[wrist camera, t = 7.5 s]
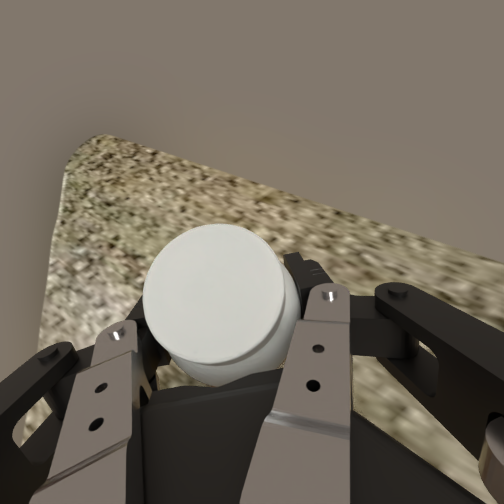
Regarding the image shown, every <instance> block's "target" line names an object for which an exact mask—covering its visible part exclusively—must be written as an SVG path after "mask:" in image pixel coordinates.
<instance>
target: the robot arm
mask: <svg viewBox="0 0 504 504" xmlns="http://www.w3.org/2000/svg"><path fill="white" fill-rule="evenodd" d="M283 257H284V265H285V268H286V269H287V270H288V272H289V273H290V275H291V277H292V278H293V280H294V282H295V285H296V287H297V291H298V294H299V299H300V304H301V319H298V320H297V322H296V325H295V329H294V332H293V336H292V340H291V343H290V347H289V350H288V354H287V358H286V361H285V365H284V368H280V369H275V370H269V371H263V372H258V373H252V374H249V375H247V376H244V377H242V378H239V379H237V380H235V381H232V382H230V383H227V384H225V385H222V386H219V387H199V386H180V387H174V388H169V389H163V390H160V383H159V377H158V375H157V372H156V370H157V367H158V366H164V365H169V363H170V360H171V356H170V354H169V353H168V351H167V350H166V349H165V348H164V347H163V346H162V345H161V344H160V343H159V342H158V341H157V340H156V339H155V337H154V336H153V334H152V333H151V331H150V329H149V327H148V325H147V322H146V319H145V315H144V309H143V295H142V296H141V298H140V299H139V301H138V303H137V304H136V305H135V306H134V308H133V309H132V311H131V312H130V314H129V315H128V316H127V318H126V319H125V320H124V321H120V322H117V323H115V324H113V325H111V326H109V327H107V328H106V329H104V330H103V331H102V332H101V333H100V334H99V335H98V336H97V338H96V342H95V345H92V346H89V347H87V348H84V349H81V350H78V351H76V350H75V348H74V347H73V345H72V343H71V342H60V343H56V344H54V345H51V346H49V347H47V348H45V349H43V350H41V351H40V352H38V353H37V354H35V355H34V356H33V357H32V358H30V359H29V360H28V361H27V362H25V363H24V364H23V365H22V366H21V367H19V368H18V369H17V370H15V371H14V372H13V373H12V374H10V375H9V376H8V377H7V378H5V379H4V380H3V381H2V382H1V383H0V504H486V503H484V502H483V501H482V500H480V499H479V498H477V497H476V496H475V495H473V494H472V493H470V492H469V491H467V490H466V489H465V488H463V487H462V486H460V485H459V484H458V483H456V482H455V481H453V480H452V479H450V478H449V477H448V476H446V475H445V474H443V473H442V472H441V471H439V470H438V469H436V468H435V467H433V466H432V465H431V464H429V463H428V462H426V461H425V460H423V459H422V458H421V457H419V456H418V455H416V454H415V453H414V452H412V451H411V450H409V449H408V448H406V447H405V446H404V445H402V444H401V443H399V442H398V441H397V440H395V439H394V438H392V437H391V436H390V435H388V434H387V433H385V432H384V431H382V430H381V429H380V428H378V427H377V426H375V425H374V424H373V423H371V422H370V421H368V420H367V419H365V418H364V417H363V416H361V415H360V414H358V413H357V412H356V411H354V397H353V355H360V356H373V357H376V358H377V360H378V361H379V362H380V363H381V364H382V365H383V366H384V367H385V368H386V369H387V370H388V371H389V372H390V373H391V374H392V375H393V376H394V377H395V378H396V379H397V380H398V381H399V382H400V383H401V384H402V385H403V386H404V387H405V388H406V389H407V390H408V391H409V392H410V393H411V394H412V395H413V396H414V397H415V398H416V399H417V400H418V401H419V402H420V403H421V404H422V405H423V406H424V407H425V408H426V409H427V410H428V411H429V412H430V413H431V414H432V415H433V416H434V417H435V418H436V419H437V420H438V421H439V422H440V423H441V424H442V425H443V426H444V427H445V428H446V429H447V430H448V431H449V432H450V433H451V434H452V435H453V436H454V437H455V438H456V439H457V440H458V441H459V442H460V443H461V444H462V445H463V446H464V447H465V448H466V449H467V450H468V451H469V452H470V453H471V454H472V455H473V456H474V457H475V458H476V459H477V460H478V461H479V464H478V468H479V473H480V476H481V479H482V481H483V483H484V485H485V487H486V488H487V490H488V491H489V493H490V494H491V495H492V496H493V498H494V499H495V500H496V501H497V503H498V504H504V332H502V331H500V330H498V329H496V328H494V327H492V326H490V325H488V324H486V323H484V322H482V321H480V320H478V319H476V318H474V317H472V316H470V315H469V314H467V313H465V312H463V311H461V310H459V309H457V308H455V307H453V306H451V305H449V304H447V303H445V302H443V301H441V300H439V299H437V298H436V297H434V296H432V295H430V294H428V293H426V292H424V291H422V290H420V289H418V288H416V287H414V286H412V285H409V284H405V283H398V282H390V283H384V284H381V285H379V286H377V287H376V288H375V296H355V295H350V292H349V290H348V289H347V288H346V287H345V286H343V285H340V284H335V283H333V281H332V280H331V279H330V277H329V276H328V275H327V273H325V271H324V270H323V269H322V267H321V266H320V264H319V263H318V262H316V261H313V260H311V259H310V260H305V261H304V260H303V258H302V257H301V255H300V254H299V252H295V253H290V254H285V255H283ZM419 341H421V342H422V343H423V344H425V345H426V346H427V347H429V348H430V349H431V350H432V351H433V353H434V354H435V356H436V357H437V358H436V357H434V356H433V355H432V354H430V353H429V352H428V351H426V350H425V349H424V348H422V347H421V346H420V345H419ZM42 397H44V399H45V401H46V402H47V404H48V405H49V407H50V408H51V410H52V411H53V412H52V413H51V414H50V415H49V416H48V418H47V419H46V420H45V421H44V422H43V423H42V424H41V425H40V426H39V427H38V429H37V430H36V431H35V432H34V433H33V434H32V435H31V436H30V437H29V439H28V440H27V441H26V442H25V443H24V444H23V445H22V446H21V447H20V448H19V447H18V446H17V445H16V444H15V442H14V441H13V438H12V432H13V429H14V426H15V425H16V423H17V422H18V421H19V420H20V418H21V417H22V416H23V415H24V414H25V413H26V412H27V411H28V410H29V409H30V408H31V407H32V406H33V405H34V404H35V403H36V402H37V401H38V400H40V399H41V398H42Z"/></svg>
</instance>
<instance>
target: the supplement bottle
mask: <svg viewBox="0 0 504 504" xmlns="http://www.w3.org/2000/svg"><path fill="white" fill-rule="evenodd" d="M143 309H144V315H145V319H146V322H147V325H148V327H149V329H150V331H151V333H152V334H153V336H154V337H155V339H156V340H157V341H158V342H159V343H160V344H161V345H162V346H163V347H164V348H165V349H166V350H167V351H168V353H169V354H170V356H171V358H172V359H173V360H174V362H175V363H176V364H177V365H178V366H179V367H180V368H181V369H182V370H183V371H184V372H185V373H187V374H188V375H189V376H191V377H192V378H194V379H196V380H198V381H200V382H202V383H205V384H208V385H211V386H215V387H219V386H222V385H225V384H227V383H230V382H232V381H235V380H237V379H239V378H242V377H244V376H247V375H249V374H252V373H258V372H263V371H269V370H275V369H277V368H278V367H279V366H280V365H281V364H282V363H283V361H284V360H285V359H286V358H287V354H288V350H289V347H290V343H291V340H292V336H293V332H294V329H295V325H296V322H297V320H298V319H301V304H300V299H299V294H298V291H297V287H296V285H295V282H294V280H293V278H292V277H291V275H290V273H289V272H288V270H287V269H286V268H285V267H284V265H283V264H282V263H281V262H280V261H279V260H278V258H277V256H276V254H275V253H274V251H273V250H272V249H271V247H270V246H269V245H268V244H267V243H266V242H265V241H264V240H263V239H262V238H261V237H259V236H258V235H256V234H254V233H253V232H251V231H249V230H247V229H245V228H242V227H239V226H235V225H229V224H210V225H204V226H200V227H196V228H193V229H190V230H188V231H187V232H185V233H183V234H181V235H179V236H178V237H176V238H175V239H173V240H172V241H171V242H170V243H168V244H167V245H166V246H165V247H164V248H163V249H162V251H161V252H160V253H159V254H158V256H157V257H156V258H155V260H154V262H153V263H152V265H151V267H150V269H149V271H148V273H147V277H146V280H145V284H144V289H143Z"/></svg>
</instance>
